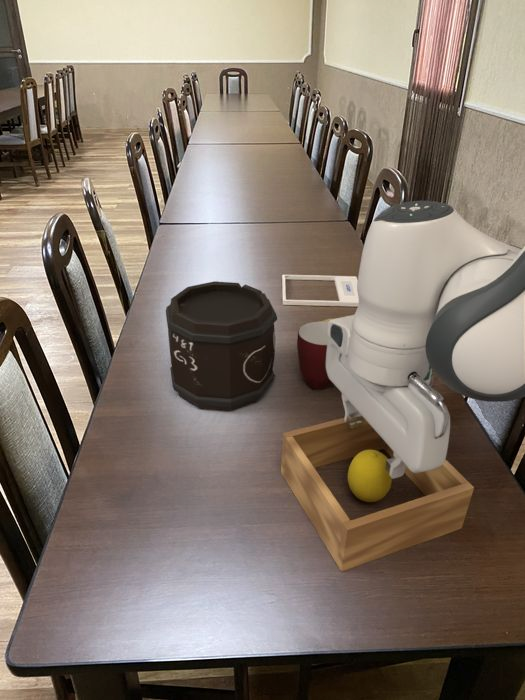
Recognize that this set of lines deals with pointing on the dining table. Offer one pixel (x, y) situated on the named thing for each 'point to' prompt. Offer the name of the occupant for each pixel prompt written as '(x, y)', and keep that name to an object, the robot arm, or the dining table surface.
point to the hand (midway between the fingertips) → (372, 447)
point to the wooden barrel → (221, 345)
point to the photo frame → (344, 288)
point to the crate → (380, 527)
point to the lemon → (369, 476)
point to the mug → (313, 354)
